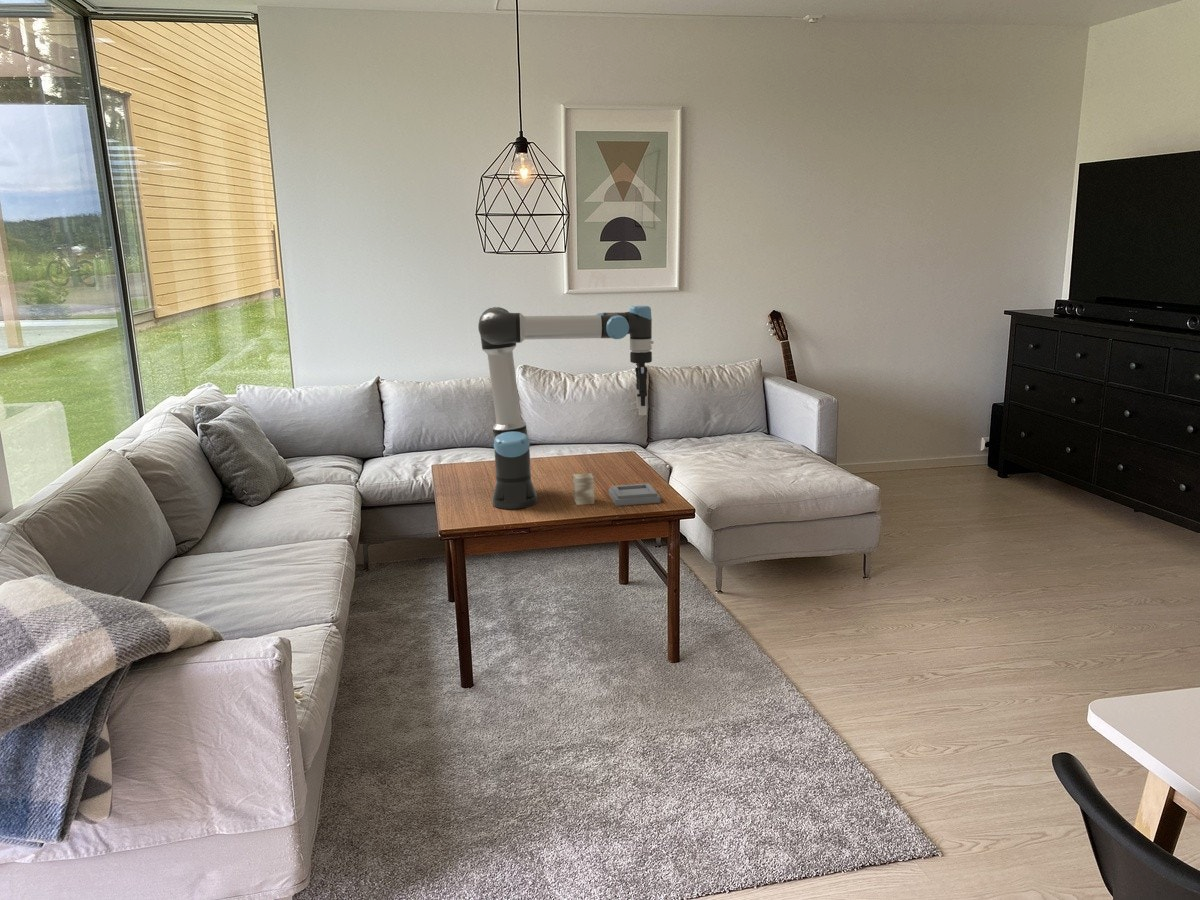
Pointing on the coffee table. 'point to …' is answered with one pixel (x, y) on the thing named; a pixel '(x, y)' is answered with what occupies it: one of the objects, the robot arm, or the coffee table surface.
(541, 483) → the coffee table surface
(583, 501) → the birch block
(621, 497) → the slate plinth
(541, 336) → the robot arm
